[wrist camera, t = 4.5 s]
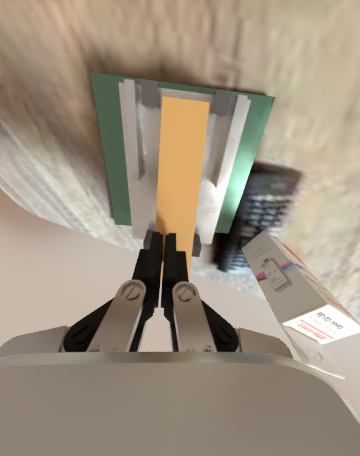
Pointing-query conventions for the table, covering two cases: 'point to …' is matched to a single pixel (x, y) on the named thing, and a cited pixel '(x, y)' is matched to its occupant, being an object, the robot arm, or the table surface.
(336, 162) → the table surface
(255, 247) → the ink cartridge box
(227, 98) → the board
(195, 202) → the orange wooden bar
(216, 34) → the table surface
